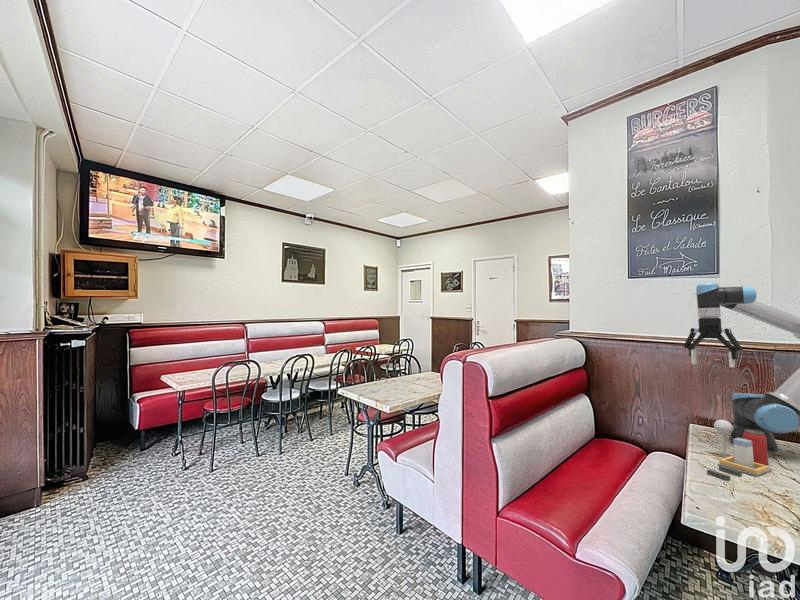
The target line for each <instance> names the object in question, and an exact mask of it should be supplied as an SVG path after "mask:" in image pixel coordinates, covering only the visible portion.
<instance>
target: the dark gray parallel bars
mask: <svg viewBox="0 0 800 600" xmlns="http://www.w3.org/2000/svg"><path fill="white" fill-rule="evenodd" d="M719 471H721V472H719ZM725 473H726V474H725ZM706 474H707V475H708V476H712V477H714V476H715V478H717V477H718V478H717V479H721V480H724V481H727V482H729V481H731V475H733V476H737V477H740V478H741V477H742V476H743V473H742V472H741V471H737V470H734V469H731V468H728V467H724V466H718V471H716V470H713V469H707V470H706ZM728 474H730V475H728Z"/></svg>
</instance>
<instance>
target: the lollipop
mask: <svg viewBox="0 0 800 600" xmlns="http://www.w3.org/2000/svg"><path fill="white" fill-rule="evenodd" d="M733 426H734V425H733V424H732V423H731V422H730V421H728V420H725V419H717V420H715V422H714V423H713V428H714V430H715V431H716V432H718V434H721V435H723V450H724V451H723V452H724V458H727V445H726V435H730V434H731V433H732V432H733Z"/></svg>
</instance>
